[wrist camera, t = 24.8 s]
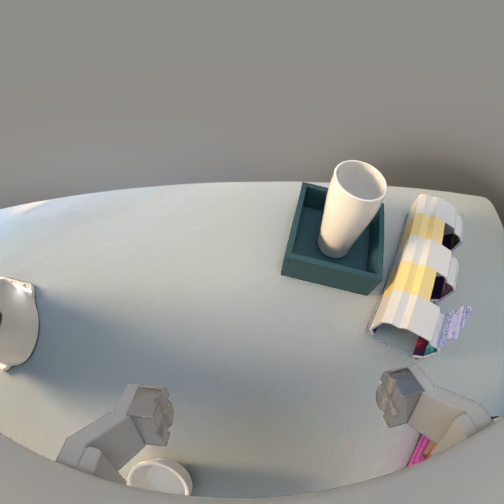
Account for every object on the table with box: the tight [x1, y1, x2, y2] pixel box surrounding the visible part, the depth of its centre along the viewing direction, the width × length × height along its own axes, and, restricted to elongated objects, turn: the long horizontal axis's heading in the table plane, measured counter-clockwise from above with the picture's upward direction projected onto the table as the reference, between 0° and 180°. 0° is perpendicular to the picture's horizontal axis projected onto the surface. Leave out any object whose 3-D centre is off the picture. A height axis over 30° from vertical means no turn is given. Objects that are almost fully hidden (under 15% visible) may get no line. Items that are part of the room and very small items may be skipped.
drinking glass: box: [317, 160, 387, 258], centre depth 35 cm, size 7×7×15 cm
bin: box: [281, 182, 384, 295], centre depth 40 cm, size 14×14×6 cm
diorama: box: [365, 194, 472, 360], centre depth 34 cm, size 25×10×13 cm, turn 148°
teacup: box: [124, 458, 193, 496], centre depth 24 cm, size 10×8×5 cm
